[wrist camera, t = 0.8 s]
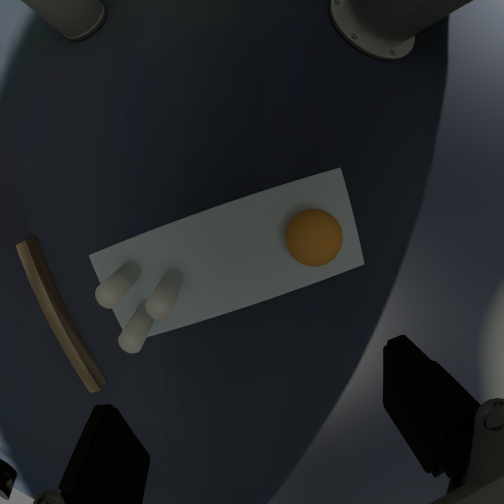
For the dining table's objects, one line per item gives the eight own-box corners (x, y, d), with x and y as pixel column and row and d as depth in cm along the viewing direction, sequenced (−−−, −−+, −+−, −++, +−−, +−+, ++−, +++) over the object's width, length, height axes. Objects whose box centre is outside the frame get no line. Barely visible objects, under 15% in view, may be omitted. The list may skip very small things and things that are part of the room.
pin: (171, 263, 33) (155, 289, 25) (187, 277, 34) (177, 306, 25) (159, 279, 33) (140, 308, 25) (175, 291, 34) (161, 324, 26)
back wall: (35, 236, 31) (25, 240, 28) (106, 380, 36) (100, 390, 34) (26, 241, 31) (15, 245, 28) (95, 382, 36) (90, 392, 34)
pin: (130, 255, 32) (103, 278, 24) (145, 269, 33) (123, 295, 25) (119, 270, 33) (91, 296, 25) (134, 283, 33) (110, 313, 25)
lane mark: (339, 167, 32) (340, 167, 32) (363, 263, 35) (364, 264, 35) (89, 255, 32) (88, 255, 32) (129, 341, 35) (129, 342, 35)
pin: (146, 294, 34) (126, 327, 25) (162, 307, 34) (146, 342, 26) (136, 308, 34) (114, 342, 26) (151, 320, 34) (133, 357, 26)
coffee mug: (21, 480, 43) (10, 503, 33) (-3, 464, 41) (-15, 485, 32) (18, 465, 41) (5, 490, 31) (-8, 447, 39) (-22, 470, 30)
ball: (305, 195, 33) (322, 198, 27) (341, 230, 34) (363, 240, 28) (269, 235, 33) (279, 246, 28) (307, 268, 35) (322, 286, 29)
